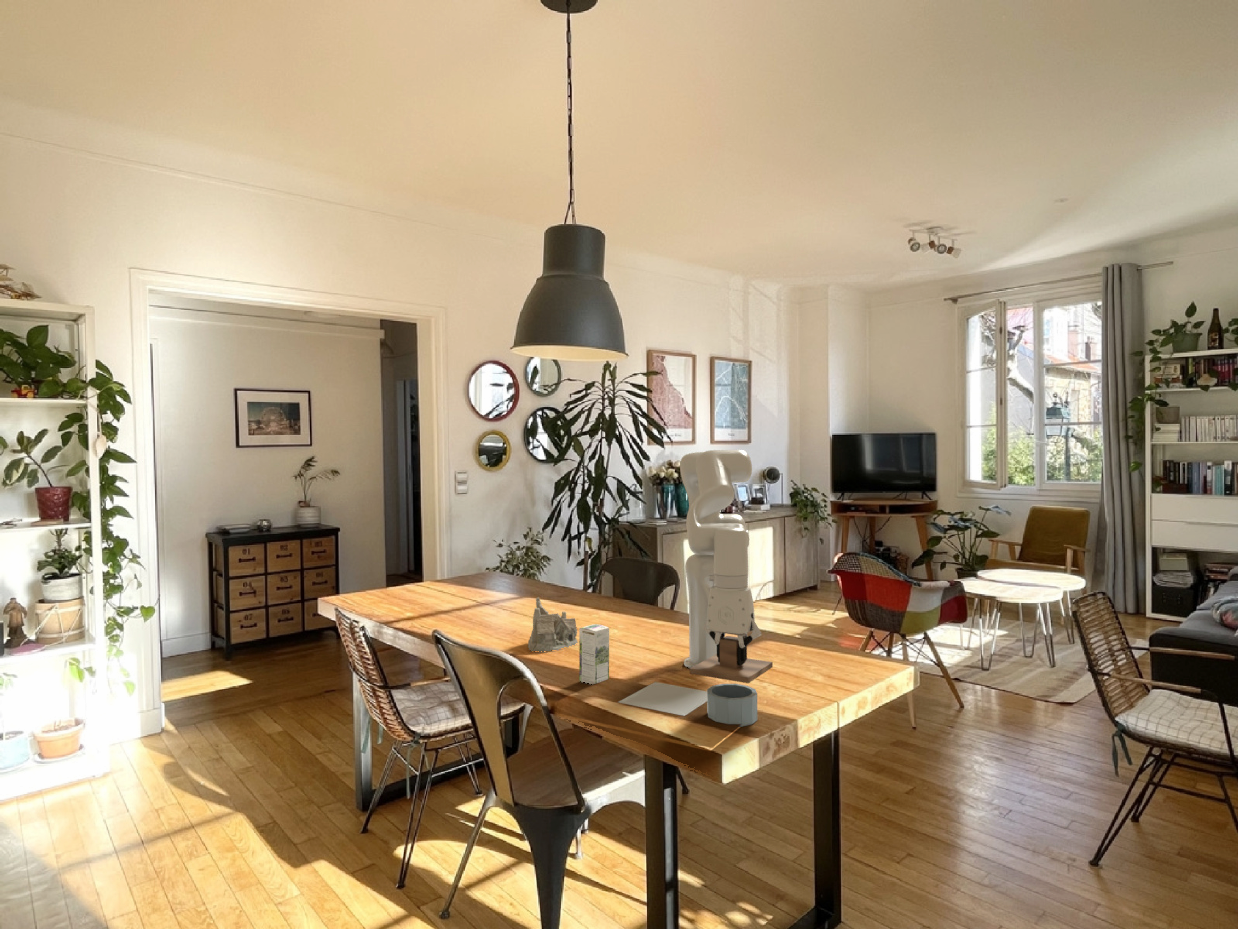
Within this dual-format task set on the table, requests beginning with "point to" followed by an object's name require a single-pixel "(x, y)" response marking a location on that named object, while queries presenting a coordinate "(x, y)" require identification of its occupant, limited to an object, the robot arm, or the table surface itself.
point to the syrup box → (593, 654)
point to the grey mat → (667, 698)
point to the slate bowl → (732, 704)
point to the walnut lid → (731, 664)
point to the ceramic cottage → (551, 630)
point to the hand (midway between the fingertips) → (731, 661)
